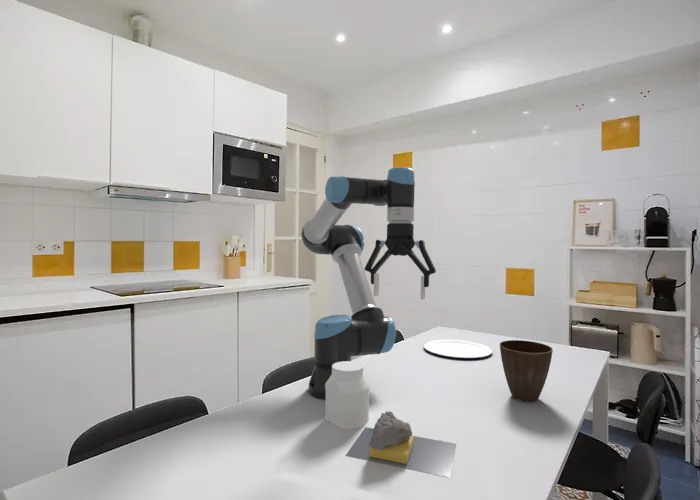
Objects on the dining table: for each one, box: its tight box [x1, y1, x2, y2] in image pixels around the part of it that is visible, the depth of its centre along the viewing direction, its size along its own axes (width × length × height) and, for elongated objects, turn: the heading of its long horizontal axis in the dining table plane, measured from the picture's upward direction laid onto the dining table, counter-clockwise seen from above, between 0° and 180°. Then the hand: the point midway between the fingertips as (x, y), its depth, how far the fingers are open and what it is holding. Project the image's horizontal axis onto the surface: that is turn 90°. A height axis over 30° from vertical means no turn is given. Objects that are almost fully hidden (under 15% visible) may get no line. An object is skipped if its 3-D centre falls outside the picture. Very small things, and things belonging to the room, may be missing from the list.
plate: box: [423, 339, 493, 360], centre depth 174 cm, size 29×29×2 cm
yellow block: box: [370, 435, 414, 464], centre depth 87 cm, size 8×2×8 cm
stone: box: [369, 411, 413, 450], centre depth 86 cm, size 10×8×6 cm
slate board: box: [345, 426, 457, 479], centre depth 88 cm, size 22×14×1 cm, turn 70°
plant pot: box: [499, 339, 554, 403], centre depth 121 cm, size 15×15×16 cm
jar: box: [324, 360, 370, 430], centre depth 103 cm, size 12×10×15 cm
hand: (399, 297), depth 113 cm, fingers open, 13 cm apart
